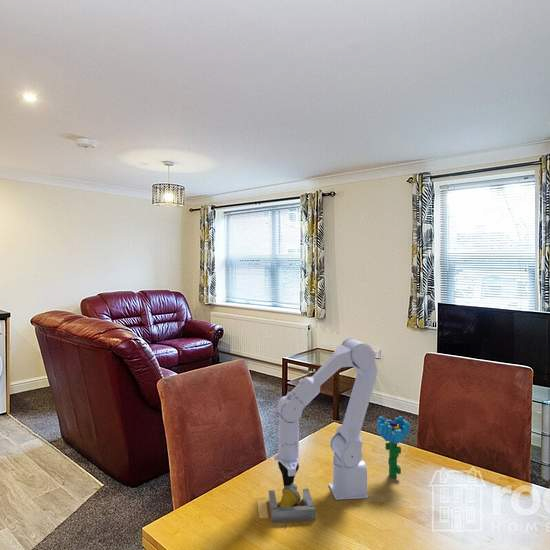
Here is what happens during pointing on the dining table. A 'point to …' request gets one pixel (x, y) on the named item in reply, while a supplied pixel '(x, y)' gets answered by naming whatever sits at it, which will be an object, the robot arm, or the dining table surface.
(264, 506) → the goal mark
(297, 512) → the bracket
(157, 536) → the dining table surface
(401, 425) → the toy flower
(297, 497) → the grooved yellow cone
